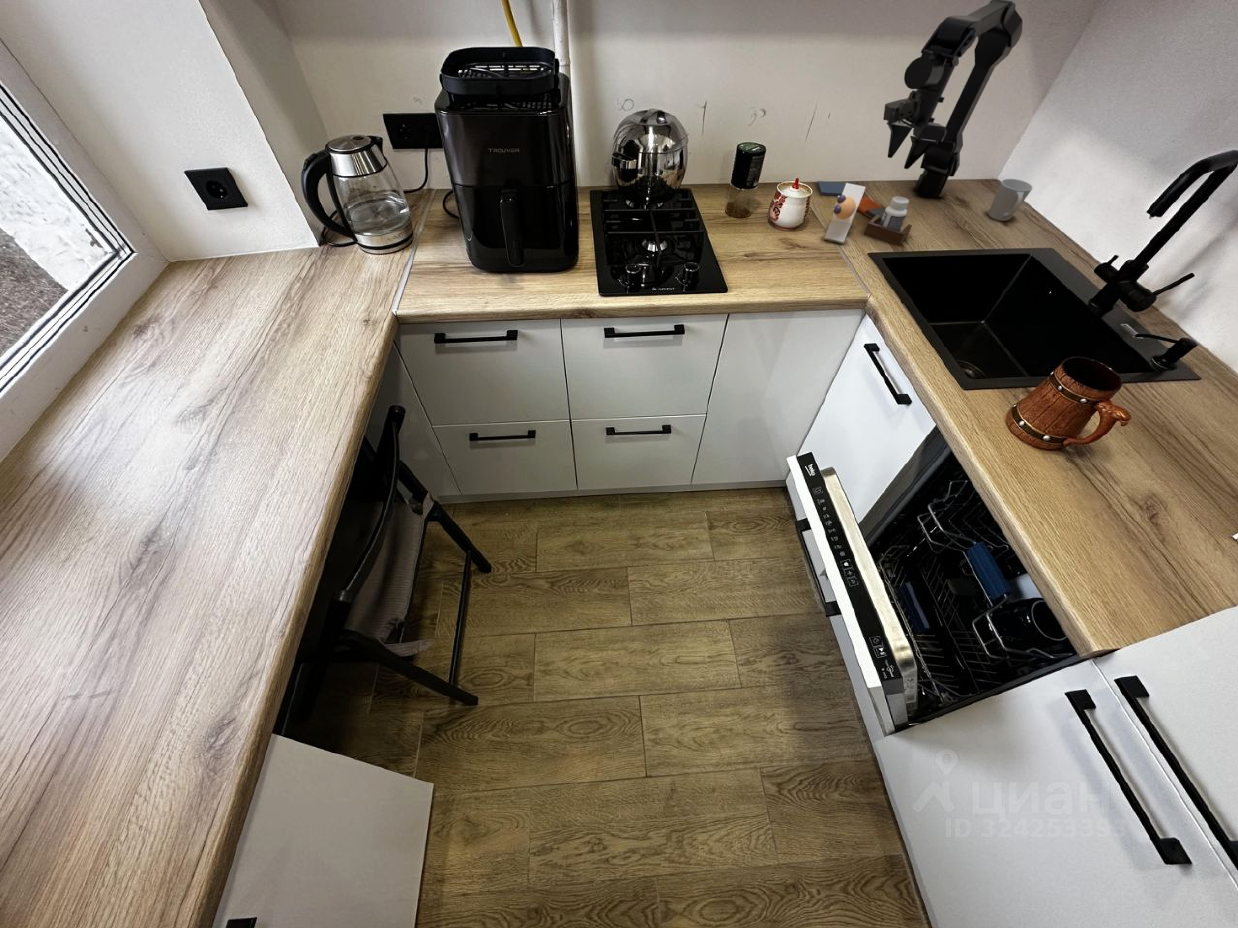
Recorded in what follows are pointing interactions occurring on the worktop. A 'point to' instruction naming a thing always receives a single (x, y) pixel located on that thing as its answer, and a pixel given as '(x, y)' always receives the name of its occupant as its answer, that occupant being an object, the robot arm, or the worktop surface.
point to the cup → (1009, 198)
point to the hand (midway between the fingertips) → (897, 163)
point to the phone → (870, 208)
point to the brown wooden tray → (886, 232)
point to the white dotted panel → (844, 212)
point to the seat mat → (832, 188)
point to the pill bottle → (895, 213)
